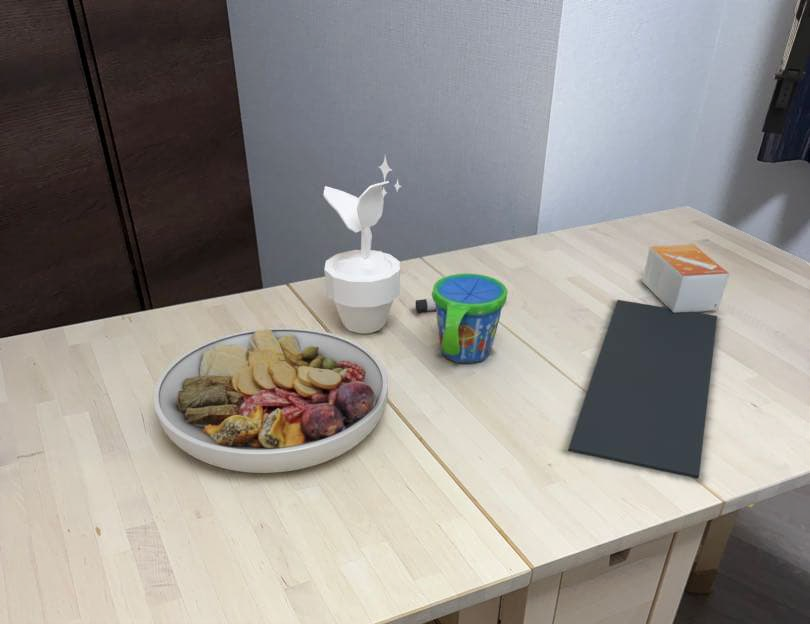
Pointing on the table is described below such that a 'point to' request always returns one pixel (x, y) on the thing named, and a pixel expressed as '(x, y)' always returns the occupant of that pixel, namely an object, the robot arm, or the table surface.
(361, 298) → the potted plant
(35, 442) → the table surface
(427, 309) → the marker
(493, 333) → the snack cup
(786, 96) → the robot arm
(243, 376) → the bowl
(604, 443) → the slate mat
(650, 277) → the small box
